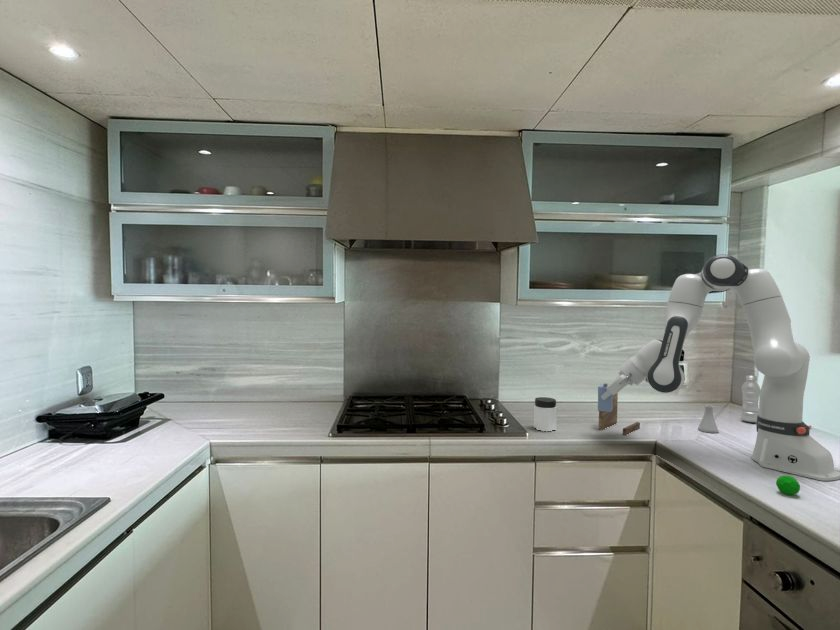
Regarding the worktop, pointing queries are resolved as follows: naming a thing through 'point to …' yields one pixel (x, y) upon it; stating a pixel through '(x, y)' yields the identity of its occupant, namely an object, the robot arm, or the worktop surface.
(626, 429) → the cleat board
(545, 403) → the jar
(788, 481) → the polyhedron
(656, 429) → the worktop surface
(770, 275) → the robot arm
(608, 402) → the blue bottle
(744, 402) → the plastic bottle
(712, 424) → the flask
